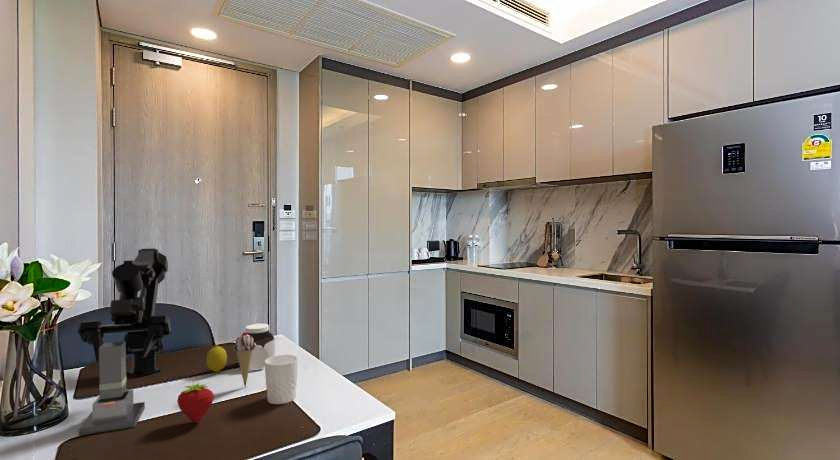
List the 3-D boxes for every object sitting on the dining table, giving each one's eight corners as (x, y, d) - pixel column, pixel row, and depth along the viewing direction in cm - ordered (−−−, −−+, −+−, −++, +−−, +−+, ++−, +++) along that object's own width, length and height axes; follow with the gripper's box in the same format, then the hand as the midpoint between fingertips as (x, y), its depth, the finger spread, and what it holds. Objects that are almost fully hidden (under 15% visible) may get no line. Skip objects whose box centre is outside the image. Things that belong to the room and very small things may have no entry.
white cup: (304, 395, 111) (303, 356, 111) (285, 407, 103) (284, 366, 103) (278, 390, 113) (278, 353, 113) (258, 403, 106) (257, 362, 106)
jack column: (105, 392, 97) (104, 342, 97) (126, 389, 99) (125, 340, 99) (99, 399, 94) (98, 347, 93) (122, 396, 95) (121, 345, 95)
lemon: (219, 376, 124) (218, 349, 123) (202, 375, 125) (201, 347, 124) (231, 370, 129) (231, 343, 129) (215, 368, 130) (214, 342, 130)
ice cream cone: (261, 385, 117) (260, 330, 117) (244, 393, 112) (243, 336, 111) (245, 382, 119) (245, 328, 119) (228, 389, 114) (228, 333, 114)
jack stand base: (94, 415, 99) (93, 391, 99) (144, 408, 103) (144, 385, 103) (78, 435, 90) (78, 409, 90) (135, 426, 94) (134, 401, 94)
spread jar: (264, 356, 142) (263, 321, 142) (285, 363, 135) (285, 326, 135) (229, 366, 132) (229, 328, 132) (251, 374, 125) (250, 334, 125)
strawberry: (206, 429, 93) (205, 383, 92) (171, 429, 93) (170, 383, 92) (219, 416, 99) (218, 373, 98) (186, 416, 99) (186, 373, 98)
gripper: (79, 288, 103) (62, 346, 93) (168, 283, 110) (161, 337, 101) (90, 313, 111) (76, 370, 101) (173, 308, 118) (167, 360, 108)
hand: (121, 359), depth 102 cm, fingers open, 9 cm apart
